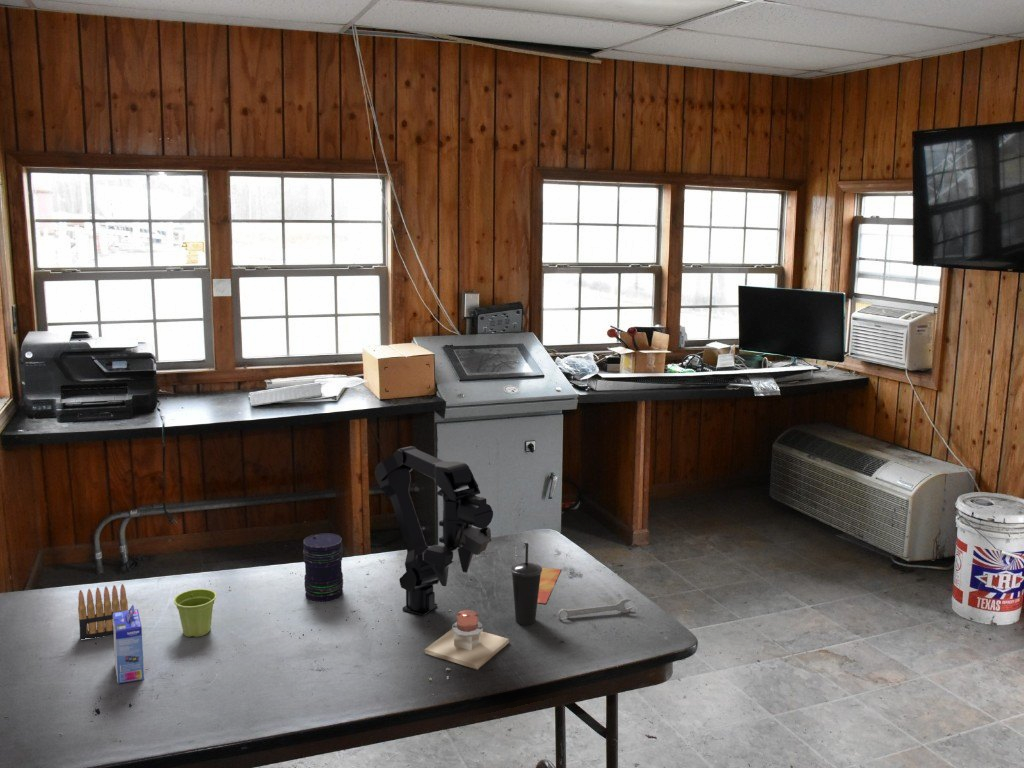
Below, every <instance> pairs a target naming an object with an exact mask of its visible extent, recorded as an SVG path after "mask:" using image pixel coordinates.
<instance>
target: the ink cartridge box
mask: <svg viewBox="0 0 1024 768" xmlns="http://www.w3.org/2000/svg"><path fill="white" fill-rule="evenodd" d="M113 629H114V635H113V652H114V655H113V656H114V667H115V673H116V681H117V684H122V683H123V684H124V683H128V682H137V681H143V680H144V679H145V670H144V669H145V668H144V652H143V651H144V649H143V646H144V645H143V628H142V622H141V616H140V612H139V609H137V608H136V609H135V605H134V604H132V605H131V606H130V608H128V610H127V611H121V612H116V613H113Z"/></svg>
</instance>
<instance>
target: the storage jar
mask: <svg viewBox="0 0 1024 768" xmlns="http://www.w3.org/2000/svg"><path fill="white" fill-rule="evenodd" d="M342 540H343V539H342V537H341V535H338V534H335V533H331V532H330V533H329V532H327V533H323V532H322V533H316V534H315V533H314V534H311V535H309V536H307V537H305V538H304V539H303V550H302V551H303V562H304V564H305V566H304V567H305V569H304V570H305V571H304V573H305V574H304V585H303V586H304V591H305V594H304V595H305V599H306V600H308V601H309V602H314V603H329V602H334V601H337V600H339V599H341V598H342V597H343V594H344V590H343V588H344V574H343V569H342V560H343V558H344V557H343V556H344V555H343V543H342V542H343V541H342Z"/></svg>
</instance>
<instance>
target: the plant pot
mask: <svg viewBox="0 0 1024 768" xmlns="http://www.w3.org/2000/svg"><path fill="white" fill-rule="evenodd" d="M216 599H217V593H216V592H215V591H213V590H211V589H207V588H205V589H204V588H197V589H195V588H194V589H190V590H186V591H183V592H181V593H179V594H177V595H176V596H175V597H174V599H173V603H174V605H175V606H176V609H177V610H178V614H179V619H180V624H181V628H182V633H183V635H184V636H186V637H189V638H190V637H195V638H197V637H198V638H199V637H203V636H205V635H207V634H208V633H209V632H210V630H211V629H212V620H213V619H212V617H213V610H214V609H213V608H214V604H215V601H216Z"/></svg>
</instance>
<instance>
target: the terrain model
mask: <svg viewBox="0 0 1024 768" xmlns="http://www.w3.org/2000/svg"><path fill="white" fill-rule="evenodd" d="M561 571H562V569H561V568H560V569H559V568H547V567H542V572H541V576H540V585H539V593H538V601H537V604H547V602H548V599H549V597H550V595H551V593H552V591H553V588H554V587H555V585H556V582H557V580H558V578H559V575H560V573H561Z"/></svg>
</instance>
